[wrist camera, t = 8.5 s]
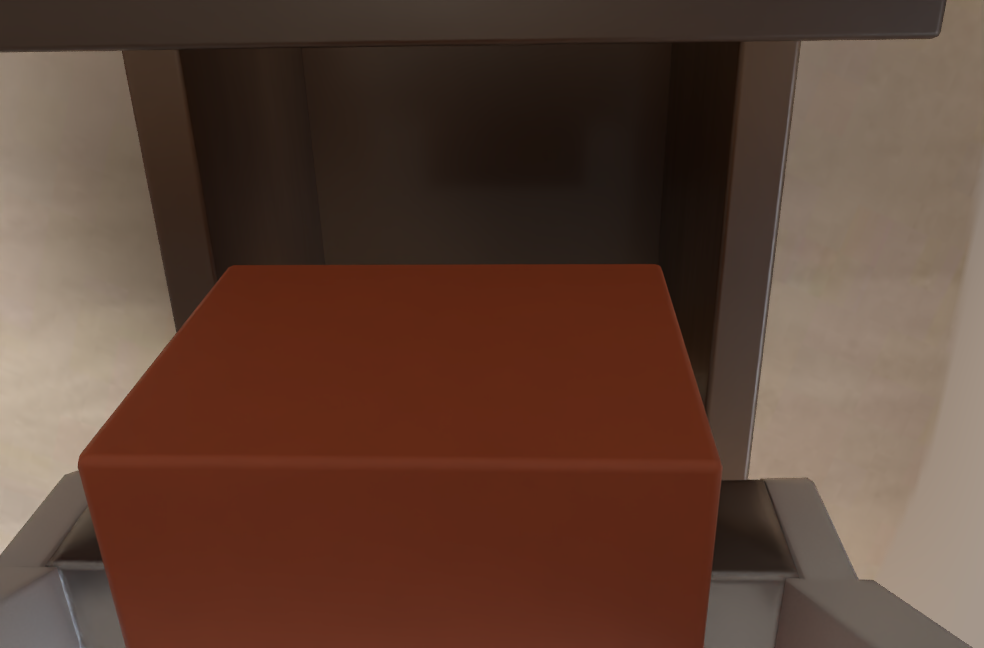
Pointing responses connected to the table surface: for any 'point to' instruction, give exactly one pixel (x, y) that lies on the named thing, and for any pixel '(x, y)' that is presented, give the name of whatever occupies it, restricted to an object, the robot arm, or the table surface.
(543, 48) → the drawer
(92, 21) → the cabinet
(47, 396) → the table surface
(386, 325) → the block
